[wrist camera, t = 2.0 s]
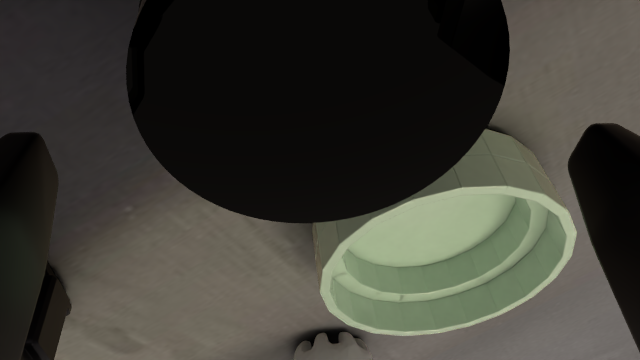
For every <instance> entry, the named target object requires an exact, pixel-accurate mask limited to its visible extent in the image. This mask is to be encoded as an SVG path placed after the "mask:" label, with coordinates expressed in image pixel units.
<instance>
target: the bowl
mask: <svg viewBox="0 0 640 360" xmlns="http://www.w3.org/2000/svg"><path fill="white" fill-rule="evenodd" d="M576 235H577V231H576V228H575V226H574V223H573V221H572V218H571V216H570V213H569V211H568V209H567V208H566V206H565V204H564V203H563V201H562V199H561V198H560V196H559V194H558V193H557V191H556V189H555V188H554V186H553V185H552V183H551V182H550V180H549V178H548V176H547V175H546V173H545V171H544V170H543V168H542V167H541V165H540V163H539V162H538V160H537V158H536V157H535V155H534V154H533V152H531V151H530V150H529V149H527V148H526V147H525V146H524V145H522V144H521V143H520V142H518V141H517V140H516V139H515V138H513V137H512V136H509V135H506V134H502V133H499V132H495V131H491V130H488V129H485V130H484V131H483V133H482V134H481V136H480V137H479V139H478V140H477V141H476V143H475V144H474V145H473V146H472V147H471V149H470V150H469V151H468V152H467V153H466V154H465V155H464V156H463V157H462V159H461V160H460V161H459V162H458V163H457V164H456V165H454V166H453V167H452V168H451V169H450V170H449V171H448V172H446V173H445V174H444V175H443V176H441V177H440V178H439V179H437V180H436V181H435V182H433V183H432V184H430V185H429V186H427V187H426V188H424V189H423V190H421V191H419V192H418V193H416V194H414V195H412V196H410V197H409V198H407V199H405V200H402V201H400V202H398V203H396V204H394V205H391V206H389V207H386V208H384V209H381V210H378V211H375V212H372V213H369V214H365V215H362V216H358V217H353V218H349V219H343V220H338V221H330V222H321V223H313V226H312V236H313V244H314V251H315V259H316V267H317V275H318V283H319V291H320V294H321V296H322V298H323V300H324V302H325V304H326V306H327V309H328V310H329V312H330V313H332V314H333V315H335V316H336V317H337V318H339V319H340V320H341V321H343V322H344V323H345V324H347V325H349V326H352V327H355V328H358V329H361V330H364V331H368V332H371V333H375V334H386V335H397V336H411V335H424V334H435V333H441V332H446V331H450V330H455V329H459V328H464V327H468V326H472V325H474V324H477V323H480V322H482V321H485V320H488V319H491V318H493V317H496V316H499V315H501V314H503V313H505V312H507V311H509V310H511V309H513V308H514V307H516V306H518V305H520V304H522V303H523V302H525V301H527V300H529V299H531V298H532V297H533V296H535V295H536V294H537V293H538V292H540V291H541V290H542V289H543V288H544V287H546V286H547V285H548V284H549V283H551V282H552V281H553V280H554V279H555V278H556V277H557V276H558V274H559V273H560V272H561V270H562V269H563V267H564V266H565V265H566V263H567V262H568V261H569V259H570V258H571V256H572V253H573V248H574V244H575V239H576Z"/></svg>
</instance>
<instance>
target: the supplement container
mask: <svg viewBox="0 0 640 360" xmlns="http://www.w3.org/2000/svg"><path fill="white" fill-rule="evenodd" d="M509 53H510V46H509V31H508V25H507V19H506V15H505V12H504V9H503V5H502V2H501V0H140V4H139V11H138V15H137V18H136V22H135V25H134V28H133V32H132V36H131V40H130V44H129V48H128V56H127V65H126V80H127V91H128V98H129V103H130V107H131V110H132V114H133V117H134V120H135V122H136V125H137V127H138V129H139V132H140V134H141V136H142V137H143V139H144V141H145V143H146V145H147V146H148V148H149V149H150V150H151V152H152V153H153V155H154V156H155V157H156V159H157V160H158V161H159V162H160V163H161V164H162V166H163V167H164V168H165V169H166V170H167V171H168V172H169V173H170V174H171V175H172V176H173V177H174V178H176V179H177V180H178V181H179V182H180V183H182V184H183V185H184V186H186V187H187V188H188V189H190V190H191V191H193V192H194V193H196V194H197V195H199V196H201V197H202V198H204V199H206V200H208V201H210V202H212V203H214V204H216V205H218V206H220V207H223V208H225V209H228V210H230V211H233V212H236V213H239V214H242V215H246V216H250V217H254V218H258V219H263V220H269V221H276V222H286V223H321V222H330V221H338V220H343V219H349V218H353V217H358V216H362V215H365V214H369V213H372V212H375V211H378V210H381V209H384V208H386V207H389V206H391V205H394V204H396V203H398V202H400V201H402V200H405V199H407V198H409V197H410V196H412V195H414V194H416V193H418V192H419V191H421V190H423V189H424V188H426V187H427V186H429V185H430V184H432V183H433V182H435V181H436V180H437V179H439V178H440V177H441V176H443V175H444V174H445V173H446V172H448V171H449V170H450V169H451V168H452V167H453V166H454V165H456V164H457V163H458V162H459V161H460V160H461V159H462V157H463V156H464V155H465V154H466V153H467V152H468V151H469V150H470V149H471V147H472V146H473V145H474V144H475V143H476V141H477V140H478V139H479V137H480V136H481V134H482V133H483V131H484V130H485V128H486V127H487V125H488V123H489V122H490V120H491V118H492V116H493V114H494V112H495V110H496V108H497V105H498V103H499V101H500V98H501V95H502V92H503V89H504V86H505V82H506V77H507V72H508V66H509Z"/></svg>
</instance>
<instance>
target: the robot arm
mask: <svg viewBox="0 0 640 360" xmlns="http://www.w3.org/2000/svg"><path fill="white" fill-rule="evenodd" d="M568 171H569V175H570V178H571V181H572V184H573V187H574V190H575V194H576V197H577V200H578V203H579V206H580V209H581V212H582V216H583V219H584V222H585V225H586V228H587V231H588V234H589V237H590V240H591V243H592V245H593V248H594V250H595V253H596V255H597V257H598V260H599V262H600V264H601V266H602V269H603V271H604V273H605V275H606V278H607V280H608V282H609V284H610V287H611V289H612V291H613V293H614V296H615V298H616V300H617V302H618V305H619V307H620V309H621V311H622V314H623V316H624V318H625V320H626V323H627V325H628V327H629V329H630V332H631V334H632V336H633V338H634V341H635V343H636V345H637V347H638V350H639V352H640V136H638V135H637V134H635V133H633V132H631V131H629V130H627V129H625V128H624V127H622V126H620V125H618V124H614V123H596V124H592V125H590V126H589V127H588V128H587V129H586V130H585V132H584V133H583V135H582V137H581V139H580V140H579V142H578V144H577V145H576V147H575V149H574V151H573V152H572V154H571V156H570V158H569V161H568ZM57 191H58V174H57V170H56V168H55V165H54V163H53V161H52V158H51V156H50V154H49V151H48V149H47V147H46V144H45V142H44V140H43V138H42V137H41V136H40V135H39V134H38V133H35V132H17V133H8V134H6V135H5V136H3V137H1V138H0V360H54V357H55V354H56V350H57V346H58V342H59V339H60V335H61V331H62V328H63V324H64V320H65V317H66V316H67V315H69V314H70V311H71V308H72V307H71V304H70V302H69V301H70V300H69V298H68V296H67V294H66V293H65V291H64V289H63V287H62V285H61V283H60V282H59V280H58V278H57V277H56V276H55V275H54V273H53V271H52V270H51V268H50V266H49V264H48V262H47V258H48V252H49V245H50V238H51V231H52V225H53V218H54V211H55V205H56V198H57Z"/></svg>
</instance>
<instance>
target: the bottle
mask: <svg viewBox="0 0 640 360" xmlns="http://www.w3.org/2000/svg"><path fill="white" fill-rule="evenodd" d="M338 338H339V343H338V344H332V343H330V342H329V340H328V337H327V335H326V334H325V333H320V334H318V335H317V336H316V338H315V342H314V345H313V347H312V346H311V343H310V342H309V341H303V342H301V343H300V344H299V346H298V347H297V349H296V351H295V354H294V360H373V359H372V355H371V353H370V351H369V349H368V346H367V345H366V344H365V342H364V341H362V340H361V339H359V338H353V336H352V335H351V334H350V333H348V332H341V333H340V334H339V336H338Z"/></svg>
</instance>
